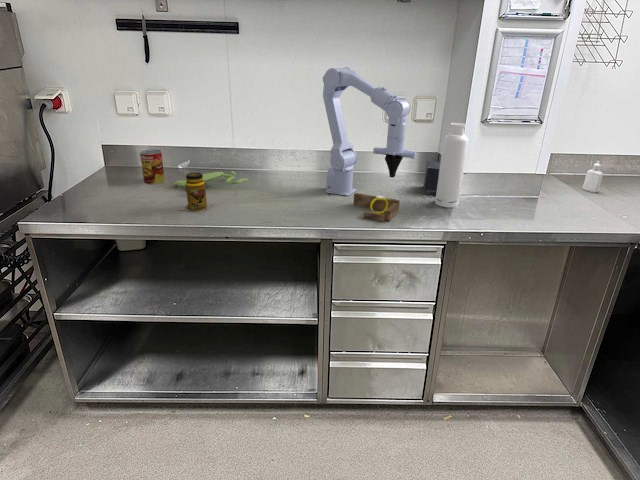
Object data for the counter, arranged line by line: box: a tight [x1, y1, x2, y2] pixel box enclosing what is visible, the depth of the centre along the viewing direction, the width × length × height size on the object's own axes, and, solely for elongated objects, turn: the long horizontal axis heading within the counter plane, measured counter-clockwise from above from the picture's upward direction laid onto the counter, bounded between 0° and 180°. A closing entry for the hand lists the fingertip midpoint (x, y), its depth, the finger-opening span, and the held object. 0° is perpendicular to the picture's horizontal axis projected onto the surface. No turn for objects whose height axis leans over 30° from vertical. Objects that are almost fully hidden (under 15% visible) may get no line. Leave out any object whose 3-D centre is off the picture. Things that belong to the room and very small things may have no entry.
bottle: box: [434, 122, 469, 208], centre depth 152 cm, size 8×8×28 cm
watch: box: [370, 194, 388, 215], centre depth 147 cm, size 6×3×6 cm, turn 102°
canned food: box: [139, 148, 166, 185], centre depth 173 cm, size 8×8×12 cm
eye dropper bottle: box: [582, 160, 604, 194], centre depth 172 cm, size 4×6×12 cm
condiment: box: [178, 171, 212, 214], centre depth 146 cm, size 7×8×12 cm
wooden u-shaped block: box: [352, 192, 401, 222], centre depth 147 cm, size 16×12×4 cm
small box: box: [422, 160, 441, 196], centre depth 169 cm, size 11×6×10 cm, turn 168°
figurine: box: [173, 170, 249, 194], centre depth 168 cm, size 18×27×6 cm
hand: (392, 176), depth 152 cm, fingers closed
